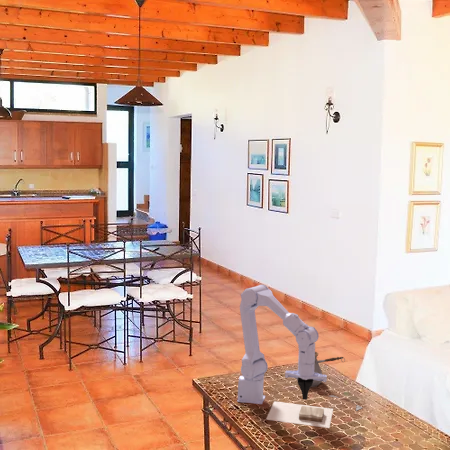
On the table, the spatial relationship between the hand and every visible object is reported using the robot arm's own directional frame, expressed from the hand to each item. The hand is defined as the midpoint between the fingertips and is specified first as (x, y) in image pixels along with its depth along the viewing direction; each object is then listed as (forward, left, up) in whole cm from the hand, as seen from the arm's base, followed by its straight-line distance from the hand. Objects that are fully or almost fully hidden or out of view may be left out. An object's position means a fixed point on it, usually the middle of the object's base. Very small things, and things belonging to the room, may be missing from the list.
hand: (305, 398), depth 211 cm
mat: (-2, +1, -7) cm, 7 cm away
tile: (-2, 0, -5) cm, 6 cm away
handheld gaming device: (+11, +15, -8) cm, 20 cm away
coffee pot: (+2, +30, -7) cm, 31 cm away
